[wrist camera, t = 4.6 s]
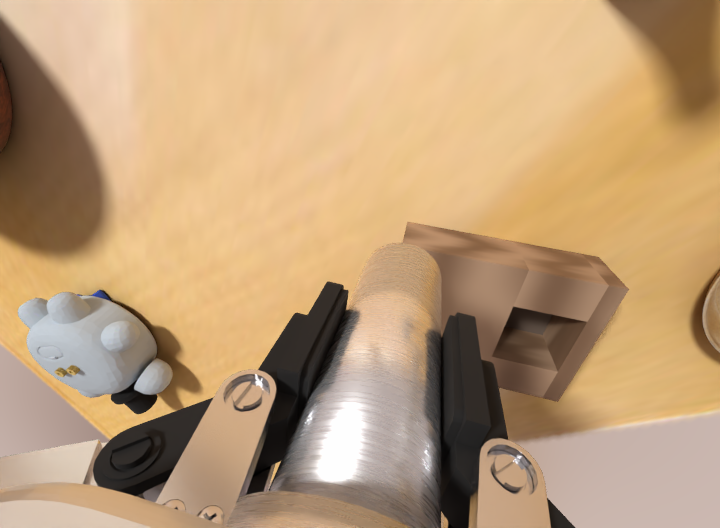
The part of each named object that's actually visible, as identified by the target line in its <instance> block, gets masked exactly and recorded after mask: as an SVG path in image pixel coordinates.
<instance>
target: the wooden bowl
mask: <svg viewBox="0 0 720 528" xmlns="http://www.w3.org/2000/svg"><path fill="white" fill-rule="evenodd" d="M11 124H12V103H11V97H10V91H9V87H8V83H7V79H6V76H5V73H4V70H3V67H2V64H1V62H0V152H1V151H2V150H3V148H4V147H5V145H6V143H7V141H8V138H9V134H10V130H11Z"/></svg>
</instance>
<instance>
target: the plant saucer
mask: <svg viewBox="0 0 720 528" xmlns="http://www.w3.org/2000/svg"><path fill="white" fill-rule="evenodd" d="M702 321H703V328H704V331H705V334H706V336H707V338H708V340H709V342H710V343H711V345H712V346H713V347H714V348H715V349H716V350H717V351H718V352H719V353H720V271H719V273H718V274H717V276H716V277H715V279H714V280H713V282H712V284H711V285H710V287H709V290H708V292H707V295H706V298H705V301H704V306H703V314H702Z"/></svg>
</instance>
